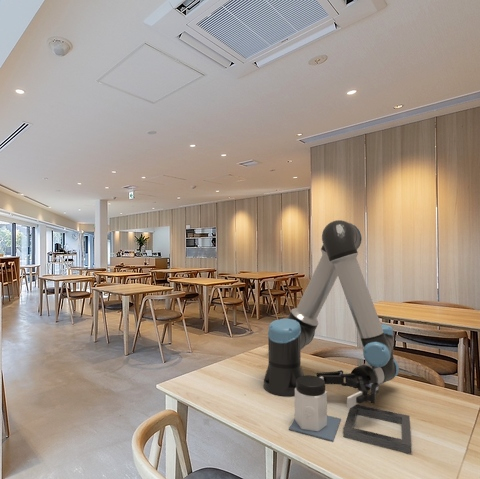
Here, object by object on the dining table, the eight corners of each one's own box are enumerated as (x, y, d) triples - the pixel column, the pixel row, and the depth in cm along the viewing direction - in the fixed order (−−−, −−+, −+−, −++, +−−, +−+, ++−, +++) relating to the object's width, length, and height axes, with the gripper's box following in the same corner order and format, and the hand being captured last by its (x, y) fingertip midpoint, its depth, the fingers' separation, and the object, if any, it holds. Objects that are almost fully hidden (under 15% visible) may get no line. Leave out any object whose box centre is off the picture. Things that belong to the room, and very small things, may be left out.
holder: (343, 436, 84) (343, 429, 85) (351, 410, 99) (351, 403, 99) (411, 454, 77) (411, 445, 77) (409, 422, 92) (409, 415, 92)
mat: (288, 430, 88) (288, 428, 88) (300, 410, 98) (300, 409, 98) (333, 441, 82) (333, 440, 82) (340, 419, 93) (340, 418, 93)
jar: (293, 428, 88) (292, 384, 88) (296, 414, 96) (296, 373, 96) (326, 433, 85) (326, 388, 86) (327, 418, 93) (327, 377, 93)
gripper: (405, 402, 96) (367, 425, 83) (335, 376, 116) (295, 392, 103) (405, 377, 96) (367, 396, 83) (335, 355, 116) (295, 368, 103)
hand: (327, 394), depth 93 cm, fingers open, 13 cm apart
